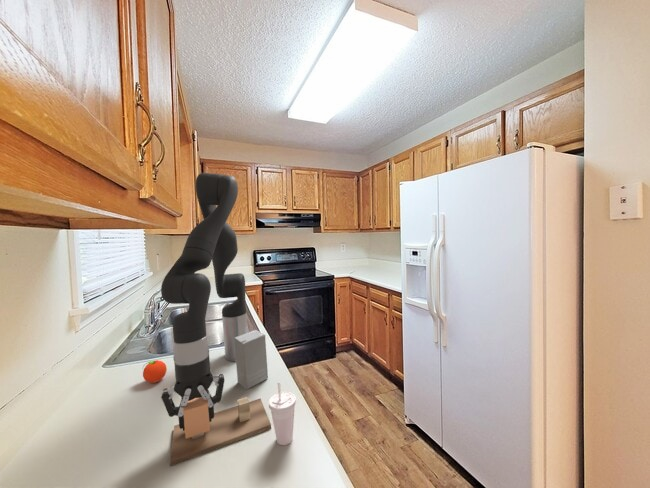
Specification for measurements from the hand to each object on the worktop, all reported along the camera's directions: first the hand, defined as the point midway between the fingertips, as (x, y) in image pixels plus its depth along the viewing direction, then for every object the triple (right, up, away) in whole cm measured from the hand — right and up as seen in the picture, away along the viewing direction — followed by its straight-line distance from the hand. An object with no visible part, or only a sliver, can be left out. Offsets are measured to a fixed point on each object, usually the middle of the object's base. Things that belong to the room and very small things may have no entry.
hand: (197, 423), depth 65 cm
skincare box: (+7, -2, +24) cm, 25 cm away
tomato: (-28, -4, +27) cm, 39 cm away
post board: (+5, -3, +3) cm, 7 cm away
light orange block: (0, -1, 0) cm, 1 cm away
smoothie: (+22, -3, -2) cm, 22 cm away
